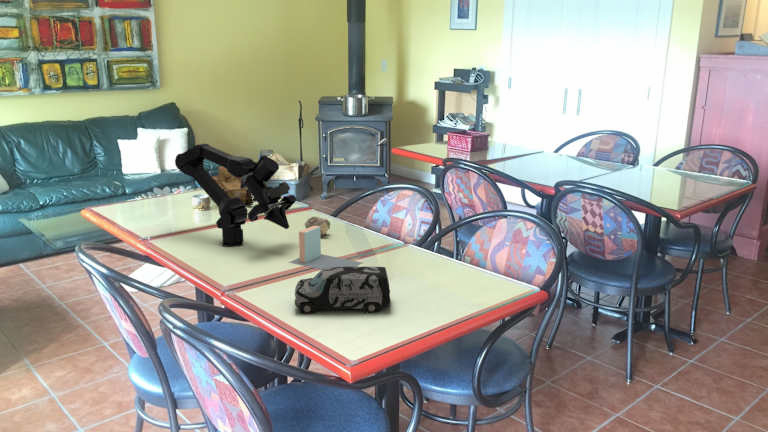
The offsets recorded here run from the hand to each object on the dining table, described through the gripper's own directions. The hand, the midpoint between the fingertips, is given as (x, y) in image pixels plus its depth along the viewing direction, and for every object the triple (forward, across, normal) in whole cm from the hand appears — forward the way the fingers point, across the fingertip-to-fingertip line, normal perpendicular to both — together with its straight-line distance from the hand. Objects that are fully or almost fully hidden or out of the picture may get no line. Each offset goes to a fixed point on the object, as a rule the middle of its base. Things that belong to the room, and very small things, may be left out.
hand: (287, 228), depth 204 cm
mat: (+17, 0, -4) cm, 17 cm away
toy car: (+34, -25, -20) cm, 47 cm away
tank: (-40, +43, +54) cm, 80 cm away
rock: (+2, +24, +11) cm, 26 cm away
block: (+12, 0, 0) cm, 13 cm away
